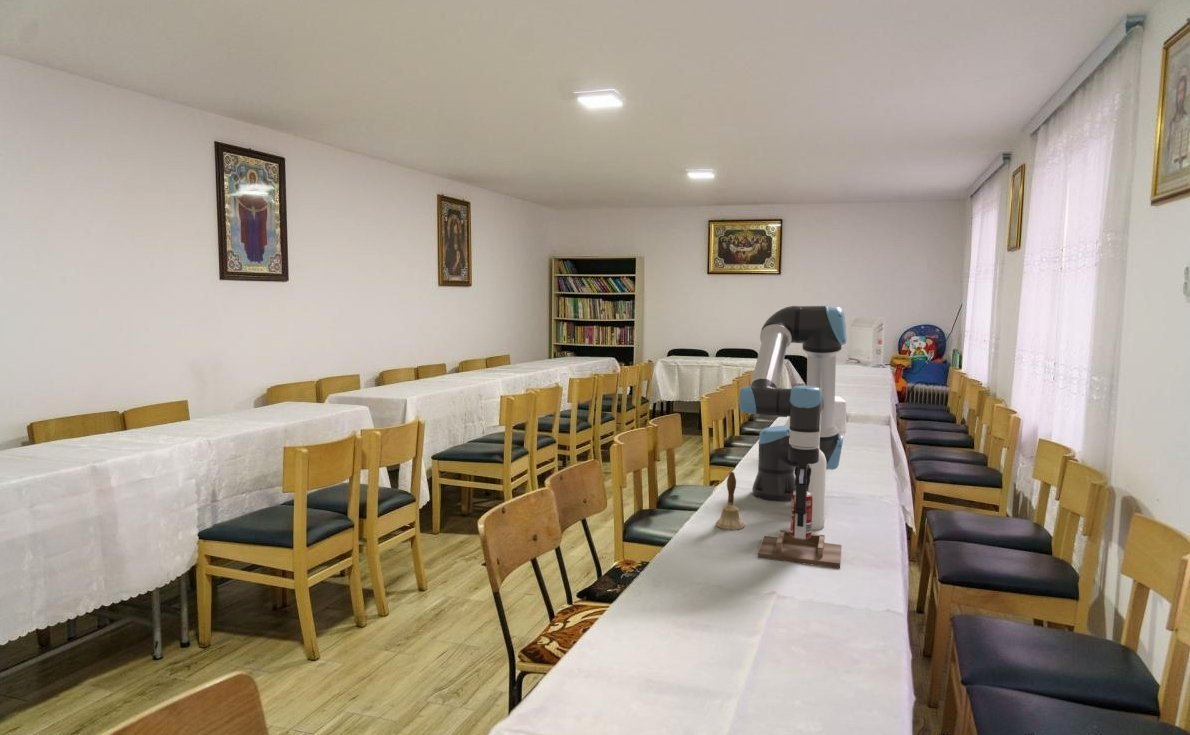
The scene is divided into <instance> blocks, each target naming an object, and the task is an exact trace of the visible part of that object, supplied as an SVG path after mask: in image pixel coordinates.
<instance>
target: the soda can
mask: <svg viewBox="0 0 1190 735" xmlns="http://www.w3.org/2000/svg"><path fill="white" fill-rule="evenodd" d="M790 502H791V503H790V505H791V506H790V508H791V509H790V511H791V512H790V531H791V532H790V534H791V537H792V538H794V536H795V513H793V511H795V502H796V490H794V491H793V495H792V500H790ZM812 502H813V498H812V495H811V492H810V491H807V497H806V538H805V539H802V538H794V539H798V540H808V539H810V537H811V534H812V531H813V530H812Z"/></svg>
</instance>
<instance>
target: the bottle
mask: <svg viewBox="0 0 1190 735" xmlns="http://www.w3.org/2000/svg"><path fill="white" fill-rule="evenodd" d="M820 431H821V430H820ZM818 449H819V446H818ZM809 466H810V468H811V476H810V483H809V490H808V491H810V492H811V495H812V498H813V502H812V530H811V531H818V530H823V528H825V519H826V517H825V513H826V512H825V511H826V510H825V508H826V507H825V506H826V505H825V504H826V487H827V486H826V484H827V483H826V482H827V469H826V458H825V455H824V453H823V452H822V451H821V450H820V449H819V461H818V462H817V463H815V464H809Z"/></svg>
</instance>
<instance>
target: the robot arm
mask: <svg viewBox="0 0 1190 735" xmlns="http://www.w3.org/2000/svg"><path fill="white" fill-rule="evenodd" d="M846 326H847V325H846V317H845V313H844V310H843V308H842V307H839V306H830V305H799V306H798V305H792V306H791V305H790V306H786V307H784V308H783V307H782V309H779V310H777V311H776V312H774V313H773V314H772V315H771V316H769V318H767V320H766V321H765V323H764V324H763V325H762V327H761V331H760V334H759V340H760V343H761V344H760V347H759V350H758V355H757V359H756V362H755V367H754V370H753V374H752V378H751V382H750V385H748V386H742V387H741V388H740V390H739V395H738V407H739V411H740V412H741V413H743V414H750V415H760V416H761V415H762V416H778V417H779V416H780V417H789V416H790V426H784V425H777V426H775V425H774V426H769V427H765V428H763V429H762V430H760V432H759V438H758V439H759V440H758V443H757V444H758V461H757V462H758V468H757V470H758V471H757V474H756V477H755V479H754V481H753V484H752V488H751V489H752V490H751V491H752V492H751V493H752V496H753V497H756V498H758V499H761V500H766V501H770V502H771V501H772V502H773V501H774V502H791V501H792V495H793V491H794V490H796V502H795V511H793V513H795V536H794V538H802V539H805V538H806V497H807V491H808V490H809V483H810V476H811V468H810V466H809V464H815V463H817V462H818V461H819V449H820V450H821V451H822V452H823V453H824V455H825V458H826V470H831V471H832V470H833V471H834V470H836V469H837V468H839V465H840V459H841V454H842V447H843V443H844V435H841V434H839V429H838V428H837V427H836V426H835V425H834V412H835V397H836V369H837V367H836V366H837V364H836V363H837V354H838V353H840V352H841V350H842V346H844V345H846V344H847V327H846ZM792 343H793V344H802V351H804V352H805V353H806V356H807V357H806V359H807V360H806V361H807V364H806V367H807V368H806V369H807V370H806V385H796V386H793V387H792V388H782V387H781V388H779V386H780V385H779V384H780V380H781V376H782V371H783V366H784V363H785V362H784V361H785V356H786V352H787V348H789V346H790V345H791V344H792ZM820 430H821V431H820ZM818 446H819V449H818Z"/></svg>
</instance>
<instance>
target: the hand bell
mask: <svg viewBox="0 0 1190 735" xmlns="http://www.w3.org/2000/svg"><path fill="white" fill-rule="evenodd" d="M736 487H737V479H736V475H735V472H734V471H729V475H728V477H727V480H726V488H727V492H728V495H727V504H726V505H724V506H723V507H722V510H721V515H720V517H719V518H718V520H717V521H716V522H715V526H716V527H717V528H720V529H722V530H729V531H739V530H742V529H744V528H745V524H744V522H743V521H742V519H741V518H740V514H739V513H740V512H739V508H738V507H737V506H735V504H734V502H735V498H734V497H735V490H736ZM743 527H744V528H743ZM736 529H737V530H736ZM738 529H739V530H738Z"/></svg>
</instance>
